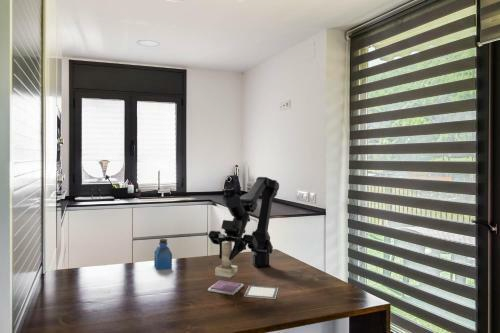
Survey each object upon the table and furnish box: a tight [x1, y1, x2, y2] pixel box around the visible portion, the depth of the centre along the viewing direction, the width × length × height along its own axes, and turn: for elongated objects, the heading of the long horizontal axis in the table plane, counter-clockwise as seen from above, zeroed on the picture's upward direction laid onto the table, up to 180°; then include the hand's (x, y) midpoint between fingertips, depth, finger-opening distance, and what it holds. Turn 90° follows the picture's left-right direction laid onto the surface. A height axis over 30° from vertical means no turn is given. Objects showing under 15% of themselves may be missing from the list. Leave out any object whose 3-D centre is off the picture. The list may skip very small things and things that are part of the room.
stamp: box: [214, 241, 238, 280], centre depth 142 cm, size 6×6×12 cm
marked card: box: [243, 285, 279, 300], centre depth 139 cm, size 11×11×1 cm
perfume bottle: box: [153, 238, 173, 271], centre depth 167 cm, size 6×6×12 cm
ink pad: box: [207, 280, 245, 296], centre depth 142 cm, size 10×10×1 cm
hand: (224, 259), depth 141 cm, fingers closed on stamp, 4 cm apart
